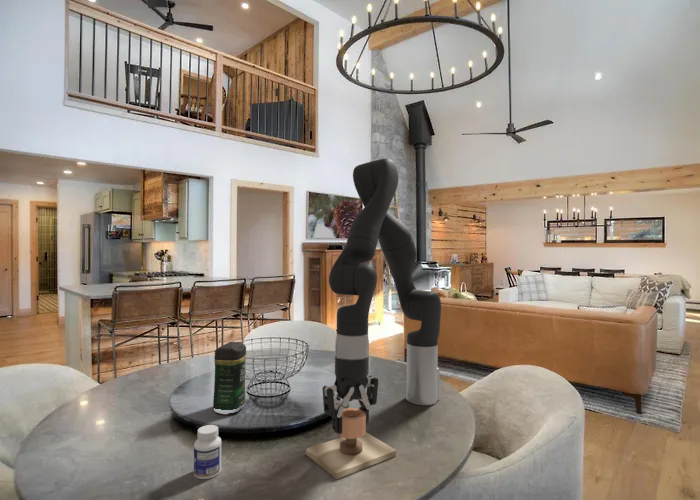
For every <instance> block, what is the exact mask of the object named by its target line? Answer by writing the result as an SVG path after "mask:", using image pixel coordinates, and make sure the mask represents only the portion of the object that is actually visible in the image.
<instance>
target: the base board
mask: <svg viewBox="0 0 700 500" xmlns="http://www.w3.org/2000/svg"><path fill="white" fill-rule="evenodd" d="M345 439H346V438H343V437H338V438H335V439H332V440H329V441H325V442H322V443H318V444H317V445H313V446H310V447H308V448H306V449H305V455H307V457H308V458H310V459H311V460H313V461H314V462H315V463H316V464H317V465H318V466H319V467H321V468H322V469H323V470H324V471H326V473H328V474H329V475H331V477H333V478H334V479H335V480H338V479H341V478H344V477H346V476H349V475H351V474H355V473H356V472H359V471H361V470H364V469H366V468H369V467H372V466H374V465H376V464H379V463H381V462H384V461H387V460H390V459H392V458H394V457H396V456H397V450H396V449H395V448H394V447H391V446H390V445H389V444H387V443H384V442H383V441H381V440H380V439H378V438H377V437H375V436H373V435H371V434H370V433H368V432H366V433H365V434H364V435H363V436H362V437H359V438H357V440H359V441H361V442H362V452H361V453H360V454H357V455H346V454H343V453H342V452H341V451H340V442H341V441H343V440H345Z"/></svg>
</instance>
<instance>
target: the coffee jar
mask: <svg viewBox="0 0 700 500" xmlns="http://www.w3.org/2000/svg"><path fill="white" fill-rule="evenodd" d="M213 359H214V360H213V361H214V381H213V382H214V385H213V402H212V409H213V408H215V409H221V410H233V409H237V408H239V407H240V406H242V405H243V404H244V402H245V403H246V363H247V362H246V360H247V346H246V344H245V343H243V342H242V341H228V342H227V343H225V344H222V345H221V346H219V347H217V348H216V349H215V350H214V358H213Z"/></svg>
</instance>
